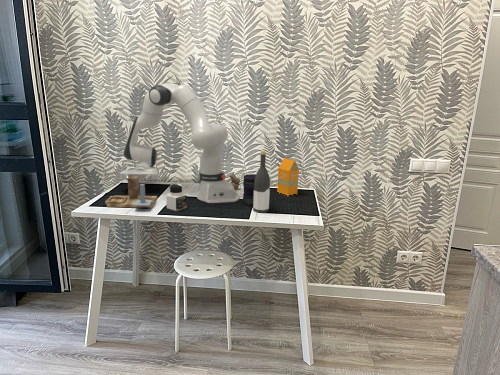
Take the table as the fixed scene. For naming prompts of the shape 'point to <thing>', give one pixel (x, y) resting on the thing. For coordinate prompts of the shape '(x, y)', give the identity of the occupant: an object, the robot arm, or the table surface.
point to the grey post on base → (142, 198)
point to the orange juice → (288, 177)
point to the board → (128, 201)
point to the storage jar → (248, 190)
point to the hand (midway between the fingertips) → (136, 178)
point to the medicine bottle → (176, 198)
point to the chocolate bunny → (234, 181)
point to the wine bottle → (261, 188)
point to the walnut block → (133, 187)
